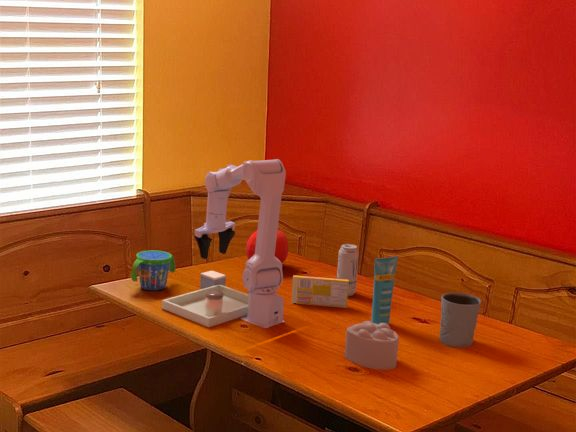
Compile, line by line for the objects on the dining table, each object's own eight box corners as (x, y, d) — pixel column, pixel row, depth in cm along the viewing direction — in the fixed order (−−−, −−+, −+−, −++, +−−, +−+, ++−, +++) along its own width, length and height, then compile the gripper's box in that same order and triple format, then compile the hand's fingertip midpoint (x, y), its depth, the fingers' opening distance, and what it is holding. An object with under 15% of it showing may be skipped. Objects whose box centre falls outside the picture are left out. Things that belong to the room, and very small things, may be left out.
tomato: (271, 259, 284) (273, 220, 281) (297, 270, 274) (299, 229, 271) (234, 266, 274) (236, 225, 271) (260, 277, 264) (262, 235, 261)
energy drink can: (349, 298, 250) (353, 250, 246) (332, 293, 253) (335, 246, 249) (358, 293, 255) (362, 246, 251) (341, 289, 258) (345, 242, 254)
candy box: (347, 306, 243) (349, 279, 241) (346, 308, 241) (349, 281, 239) (291, 301, 244) (293, 274, 242) (291, 303, 242) (292, 276, 240)
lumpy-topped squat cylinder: (366, 346, 214) (369, 314, 212) (406, 363, 205) (409, 330, 203) (339, 356, 207) (341, 323, 205) (379, 373, 198) (382, 339, 196)
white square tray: (265, 310, 235) (265, 300, 234) (208, 329, 219) (208, 318, 218) (218, 293, 247) (219, 284, 246) (161, 310, 230) (162, 300, 230)
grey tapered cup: (429, 338, 221) (433, 296, 218) (453, 331, 228) (458, 289, 225) (459, 351, 214) (464, 307, 211) (483, 343, 220) (489, 300, 217)
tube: (375, 328, 226) (381, 260, 222) (364, 322, 230) (369, 256, 226) (396, 324, 230) (402, 257, 226) (385, 318, 234) (390, 253, 230)
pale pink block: (225, 291, 250) (225, 275, 248) (214, 294, 246) (214, 278, 245) (211, 286, 253) (211, 270, 252) (200, 289, 250) (200, 273, 249)
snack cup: (164, 278, 258) (165, 246, 256) (185, 287, 251) (186, 255, 248) (121, 287, 247) (121, 254, 245) (141, 297, 240) (141, 263, 238)
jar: (225, 317, 226) (226, 294, 224) (213, 322, 222) (214, 297, 221) (213, 313, 229) (214, 289, 227) (201, 317, 225) (202, 293, 224)
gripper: (224, 204, 251) (221, 247, 255) (188, 212, 240) (185, 256, 244) (241, 210, 246) (237, 253, 250) (205, 218, 236) (202, 263, 240)
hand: (213, 255), depth 247 cm, fingers open, 7 cm apart
